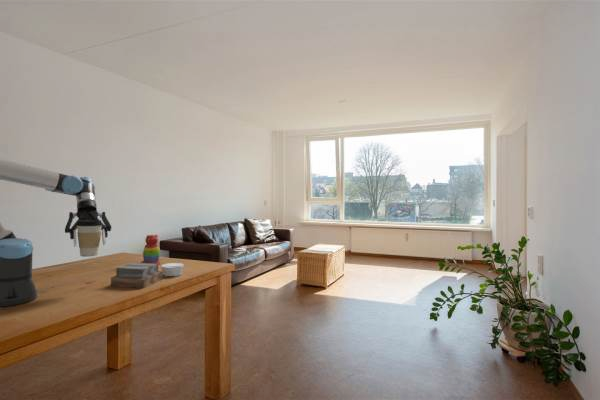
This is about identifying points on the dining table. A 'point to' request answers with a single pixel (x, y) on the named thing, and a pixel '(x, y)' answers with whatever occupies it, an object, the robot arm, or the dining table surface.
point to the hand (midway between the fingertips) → (90, 243)
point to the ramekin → (172, 269)
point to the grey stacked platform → (136, 275)
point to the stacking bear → (151, 250)
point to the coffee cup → (89, 236)
